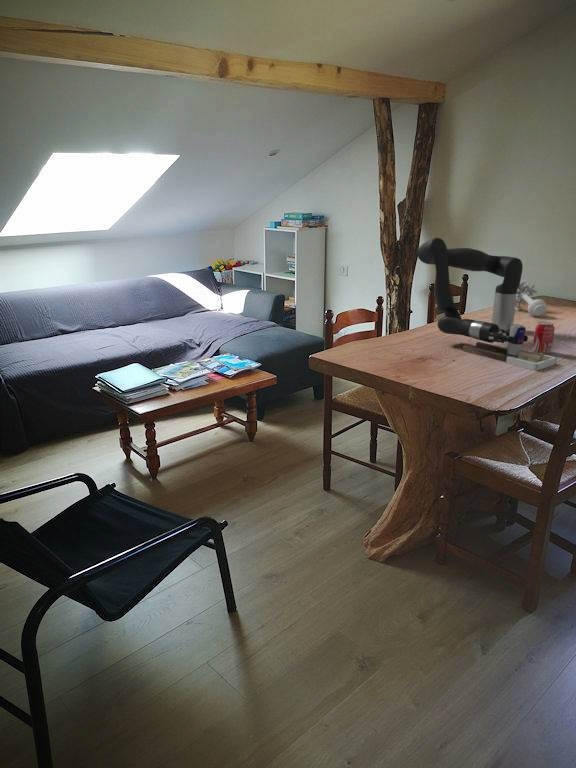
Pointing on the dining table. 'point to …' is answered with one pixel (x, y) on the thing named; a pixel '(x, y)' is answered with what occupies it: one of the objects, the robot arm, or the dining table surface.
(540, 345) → the soda can
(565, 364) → the dining table surface
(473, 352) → the slot rails
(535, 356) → the chip
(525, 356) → the tan cube
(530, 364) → the tray
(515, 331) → the energy drink
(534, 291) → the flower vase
